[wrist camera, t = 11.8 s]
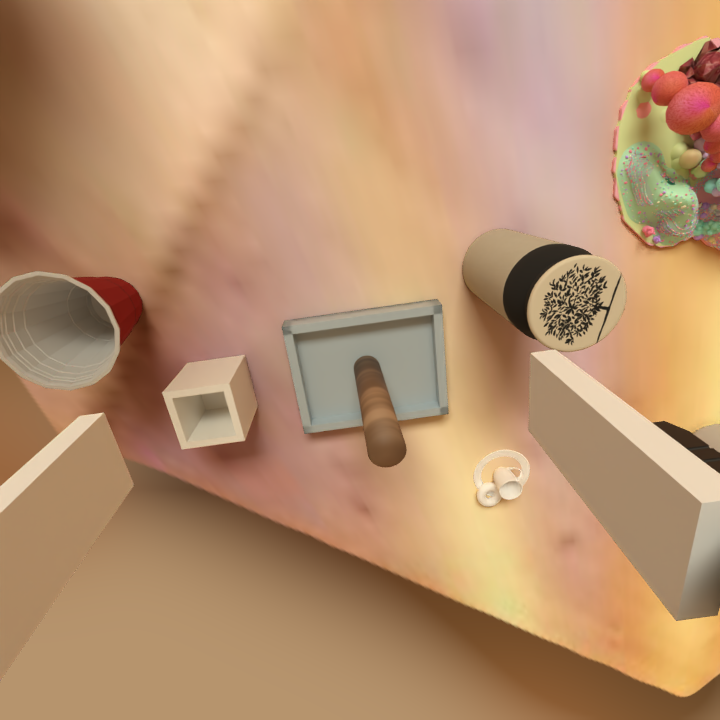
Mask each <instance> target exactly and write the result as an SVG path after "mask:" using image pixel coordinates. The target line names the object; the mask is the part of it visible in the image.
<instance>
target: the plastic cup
mask: <svg viewBox="0 0 720 720" xmlns="http://www.w3.org/2000/svg"><path fill="white" fill-rule="evenodd" d="M141 313H142V300H141V298H140V296H139V293H138V292H137V290H136V289H135V288H134V287H133V286H132V285H131V284H129V283H127V282H126V281H124V280H122V279H118V278H112V277H78V278H71V277H69V276H67V275H64V274H57V273H49V272H41V271H35V272H31V273H27V274H23V275H19V276H15V277H12V278H11V279H10V280H9V281H7V282H6V283H5V284H4V285H3V286H1V287H0V358H1V360H2V361H3V362H5V363H6V364H7V365H8V366H9V367H10V368H11V369H13V370H14V371H15V372H16V373H17V374H18V375H19V376H21V377H22V378H24V379H26V380H29V381H31V382H33V383H35V384H38V385H40V386H42V387H45V388H50V389H61V390H75V389H79V388H82V387H86V386H90V385H94V384H95V383H96V382H97V381H99V380H100V379H101V378H103V377H104V376H105V375H106V374H108V373H109V372H110V371H111V369H112V367H113V365H114V363H115V361H116V359H117V356H118V354H119V352H120V346H121V345H122V343H123V342H124V341H125V339H126V338H127V337H128V335H129V334H130V332H131V331H132V329H133V327H134V326H135V324H136V323H137V322H138V320H139V318H140V315H141Z"/></svg>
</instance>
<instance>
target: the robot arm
mask: <svg viewBox="0 0 720 720" xmlns="http://www.w3.org/2000/svg"><path fill="white" fill-rule="evenodd" d="M528 430H529V432H530V433H531V434H532V435H533V437H534V438H535V439H536V441H537V442H538V443H539V445H540V446H541V447H542V448H543V450H544V451H545V452H546V454H547V455H548V456H549V457H550V459H551V460H552V461H553V463H554V464H555V465H556V466H557V468H558V469H559V470H560V472H561V473H562V474H563V475H564V477H565V478H566V479H567V481H568V482H569V483H570V485H571V486H572V487H573V488H574V490H575V491H576V492H577V494H578V495H579V496H580V497H581V499H582V500H583V501H584V503H585V504H586V505H587V506H588V508H589V509H590V510H591V512H592V513H593V514H594V515H595V517H596V518H597V519H598V521H599V522H600V523H601V525H602V526H603V527H604V528H605V530H606V531H607V532H608V534H609V535H610V536H611V537H612V539H613V540H614V541H615V543H616V544H617V545H618V546H619V548H620V549H621V550H622V552H623V553H624V554H625V556H626V557H627V558H628V559H629V561H630V562H631V563H632V565H633V566H634V567H635V568H636V570H637V571H638V572H639V574H640V575H641V576H642V577H643V579H644V580H645V581H646V583H647V584H648V585H649V586H650V588H651V589H652V590H653V592H654V593H655V594H656V596H657V597H658V598H659V599H660V601H661V602H662V603H663V605H664V606H665V607H666V608H667V610H668V611H669V612H670V614H671V615H672V616H673V617H674V619H675V620H676V621H679V620H686V619H694V618H701V617H708V616H716V615H718V611H719V608H720V453H719V452H718V451H717V450H715V449H714V448H710V447H709V445H708V444H707V443H705V442H704V441H702V440H701V439H700V438H698V437H697V436H695V435H694V434H692V433H691V432H690V431H687V430H685V429H682V428H680V427H677V426H675V425H673V424H670V423H668V422H665V421H661V422H654V423H652V422H650V421H649V420H648V419H647V418H645V417H644V416H643V415H641V414H640V413H639V412H637V411H636V410H635V409H633V408H632V407H631V406H629V405H628V404H627V403H625V402H624V401H623V400H621V399H620V398H619V397H617V396H616V395H615V394H614V393H612V392H611V391H610V390H608V389H607V388H606V387H604V386H603V385H602V384H600V383H599V382H598V381H596V380H595V379H594V378H592V377H591V376H590V375H588V374H587V373H586V372H584V371H583V370H582V369H581V368H579V367H578V366H577V365H575V364H574V363H573V362H571V361H570V360H569V359H567V358H566V357H565V356H563V355H562V354H561V353H559V352H558V351H557V350H555V349H554V350H547V351H540V352H533V353H530V383H529V429H528ZM133 486H134V484H133V481H132V479H131V476H130V474H129V471H128V469H127V467H126V464H125V462H124V459H123V457H122V455H121V452H120V450H119V447H118V445H117V442H116V440H115V438H114V435H113V433H112V430H111V428H110V426H109V423H108V421H107V418H106V416H105V413H97V414H90V415H83V416H79V417H78V418H77V419H76V420H74V421H73V422H72V423H71V424H70V425H69V426H68V427H67V428H65V429H64V430H63V431H62V432H61V433H60V434H59V435H58V436H57V437H55V438H54V439H53V440H52V441H51V442H50V443H49V444H47V445H46V446H45V447H44V448H43V449H42V450H41V451H40V452H39V453H37V454H36V455H35V456H34V457H33V458H32V459H31V460H29V461H28V462H27V463H26V464H25V465H24V466H23V467H22V468H21V469H19V470H18V471H17V472H16V473H15V474H14V475H13V476H12V477H10V478H9V479H8V480H7V481H6V482H5V483H4V484H3V485H2V486H0V681H1V679H2V678H3V676H4V675H5V673H6V672H7V670H8V669H9V668H10V666H11V665H12V663H13V662H14V660H15V659H16V657H17V656H18V654H19V653H20V651H21V650H22V648H23V647H24V645H25V644H26V643H27V641H28V640H29V638H30V637H31V635H32V634H33V632H34V631H35V629H36V628H37V626H38V625H39V624H40V622H41V621H42V619H43V618H44V616H45V615H46V613H47V612H48V610H49V609H50V607H51V606H52V605H53V603H54V602H55V600H56V599H57V597H58V595H59V594H60V593H61V591H62V590H63V588H64V587H65V585H66V584H67V583H68V581H69V579H70V578H71V577H72V575H73V574H74V572H75V571H76V569H77V568H78V566H79V565H80V563H81V562H82V561H83V559H84V558H85V556H86V555H87V553H88V552H89V550H90V549H91V547H92V546H93V544H94V543H95V541H96V540H97V538H98V537H99V536H100V534H101V533H102V531H103V530H104V528H105V527H106V525H107V524H108V522H109V521H110V519H111V518H112V517H113V515H114V514H115V512H116V511H117V509H118V508H119V506H120V505H121V503H122V502H123V500H124V499H125V498H126V496H127V495H128V493H129V492H130V490H131V489H132V487H133Z"/></svg>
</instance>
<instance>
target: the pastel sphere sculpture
mask: <svg viewBox="0 0 720 720" xmlns="http://www.w3.org/2000/svg"><path fill="white" fill-rule="evenodd" d="M613 149H614V150H615V157H614V159H613V161H612V172H613V175H614V186H613V196H614V198H615V199H616V200H617V201H618V204H619V210H620V212H621V219H622V220H623V221H624V223H625V224H626V225H627V226H628V227H629V228H630V229H631V230H632V231H634V232H635V233H636V234H637V235H638V236H639V237H640V238H641V239H642V240H643V241H644V242H645V243H646V244H647V245H650V246H653V245H656V246H657V247H661V248H662V247H669V246H674V245H677V244H678V243H679V242H681V241H685V240H688V239H689V238H691V237H693V239H694V240H700V239H701V241H702V242H703V243H704V244H705V245H707V246H711V247H715V248H716V249H717V250H720V39H719V38H715V39H710V37H708V36H703V37H700V38H698V39H697V40H695V41H694V42H692V43H689V44H683V45H681V46H678V47H677V48H676V49H675V50H674V51H673V52H672V53H671V54H669V55H668V56H665V57H663V58H661V59H660V60H659V61H657V62H654V63H652V64H650V65H649V66H648V67H647V68H646V69H645V70H644V71H643V72H642V73H641V75H640V76H639V77H638V79H637V80H636V81H635V82H634V83H633V85H632V86H631V87H630V88H629V91H628V95H627V98H626V101H625V102H624V103H623V104H622V106H621V107H620V109H619V121H618V124H617V127H616V128H615V130H614V144H613Z"/></svg>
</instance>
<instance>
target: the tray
mask: <svg viewBox="0 0 720 720" xmlns="http://www.w3.org/2000/svg"><path fill="white" fill-rule="evenodd" d="M282 330H283V335H284V340H285V344H286V349H287V354H288V359H289V363H290V368H291V373H292V377H293V382H294V387H295V391H296V396H297V401H298V406H299V410H300V415H301V420H302V424H303V429H304V434H307V433H314V432H321V431H329V430H336V429H343V428H350V427H357V426H363V422H362V416H361V410H360V404H359V398H358V392H357V386H356V380H355V374H354V364H355V362H356V361H357V359H359V358H360V357H362V356H372V357H374V358H376V359H377V360H378V362H379V364H380V367H381V370H382V373H383V377H384V380H385V383H386V386H387V389H388V392H389V395H390V398H391V401H392V404H393V407H394V410H395V414H396V417H397V420H398V421H400V420H408V419H415V418H422V417H429V416H436V415H444V414H448V398H447V381H446V365H445V348H444V332H443V315H442V304H441V303H440V302H439V301H438V300H437V299H434V300H427V301H420V302H413V303H406V304H399V305H392V306H385V307H378V308H371V309H364V310H356V311H349V312H342V313H335V314H328V315H321V316H314V317H307V318H300V319H293V320H286V321H284V323H283V326H282Z"/></svg>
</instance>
